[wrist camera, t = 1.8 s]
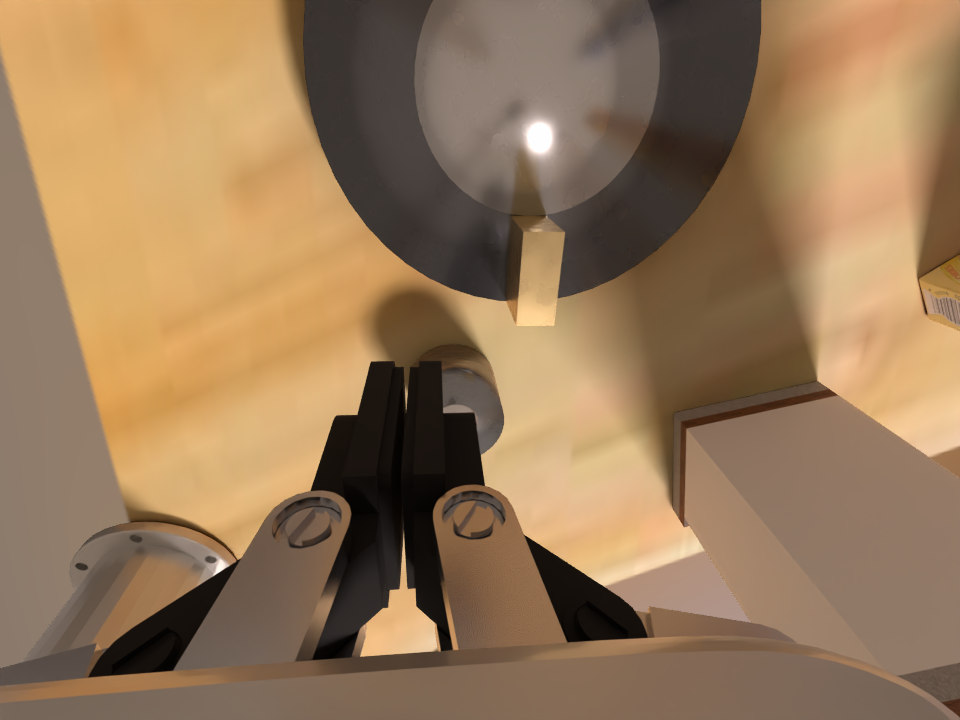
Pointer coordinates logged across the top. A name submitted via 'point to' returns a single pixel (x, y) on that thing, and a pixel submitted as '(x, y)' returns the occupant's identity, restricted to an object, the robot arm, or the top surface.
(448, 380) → the grey metallic short cylinder
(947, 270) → the candy box
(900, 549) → the tall white box
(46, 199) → the top surface
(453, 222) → the turntable
